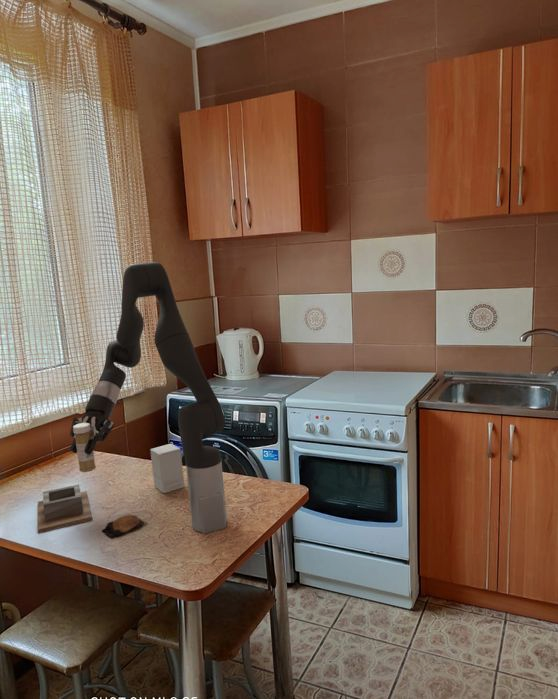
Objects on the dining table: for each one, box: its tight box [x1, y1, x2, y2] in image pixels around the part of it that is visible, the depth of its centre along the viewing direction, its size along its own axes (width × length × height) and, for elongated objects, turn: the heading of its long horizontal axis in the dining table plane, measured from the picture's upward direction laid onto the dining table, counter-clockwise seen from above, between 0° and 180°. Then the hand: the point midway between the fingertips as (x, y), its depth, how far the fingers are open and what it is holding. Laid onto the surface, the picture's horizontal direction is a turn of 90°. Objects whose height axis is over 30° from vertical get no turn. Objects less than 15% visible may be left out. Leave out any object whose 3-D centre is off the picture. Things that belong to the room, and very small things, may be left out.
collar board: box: [37, 484, 94, 534], centre depth 159 cm, size 20×14×6 cm
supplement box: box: [150, 443, 185, 494], centre depth 172 cm, size 7×7×13 cm
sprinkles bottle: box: [73, 423, 97, 473], centre depth 157 cm, size 5×5×13 cm
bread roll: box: [101, 514, 149, 539], centre depth 147 cm, size 11×8×4 cm
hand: (80, 452), depth 155 cm, fingers closed on sprinkles bottle, 4 cm apart
